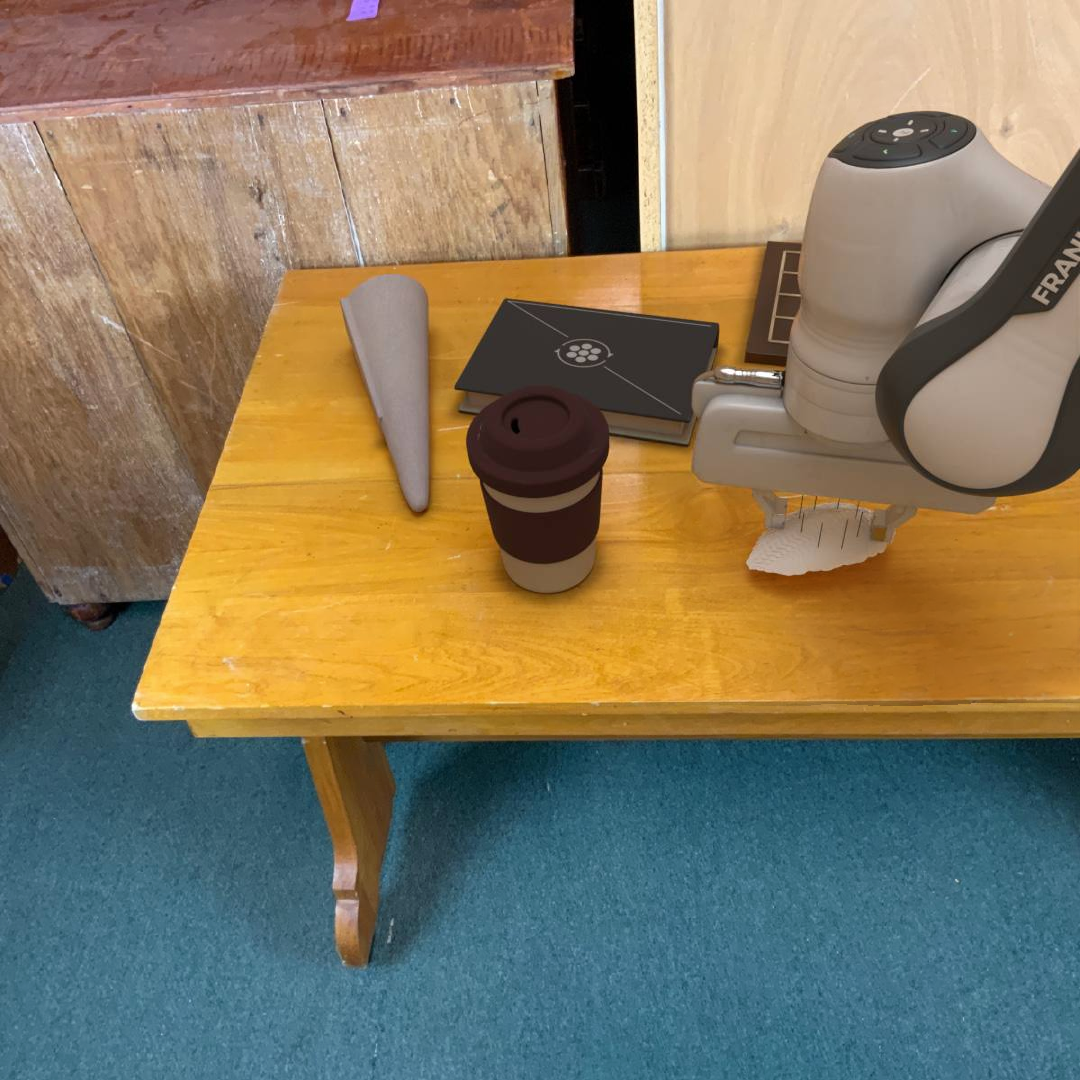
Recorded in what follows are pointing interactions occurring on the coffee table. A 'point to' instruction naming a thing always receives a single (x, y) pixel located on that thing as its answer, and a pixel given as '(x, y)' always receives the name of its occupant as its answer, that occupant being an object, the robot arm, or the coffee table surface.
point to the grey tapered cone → (396, 371)
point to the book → (596, 364)
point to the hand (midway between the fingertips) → (827, 528)
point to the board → (775, 305)
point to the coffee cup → (541, 482)
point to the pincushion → (817, 540)
